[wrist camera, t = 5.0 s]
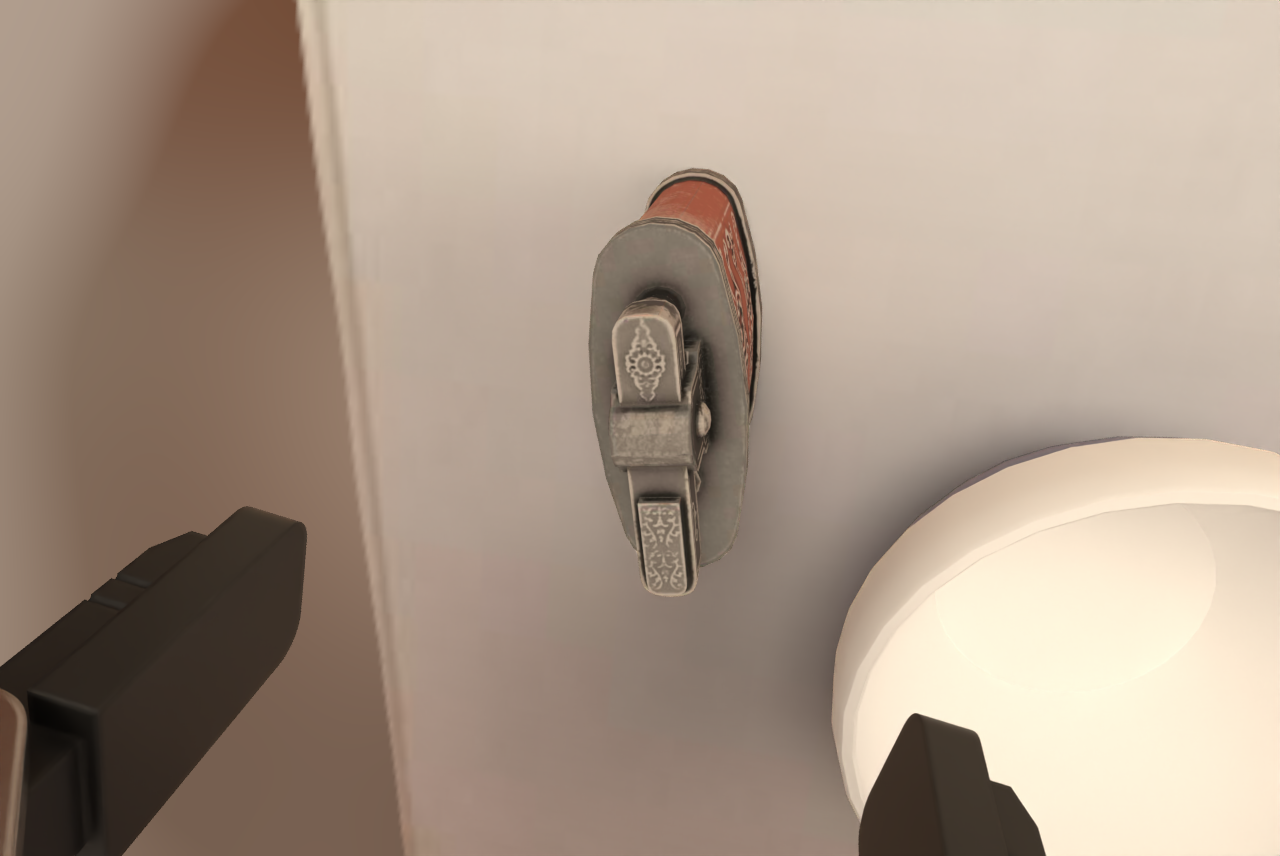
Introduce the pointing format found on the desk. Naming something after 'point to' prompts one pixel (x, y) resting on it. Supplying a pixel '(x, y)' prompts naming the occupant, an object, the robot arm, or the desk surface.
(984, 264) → the desk surface
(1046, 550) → the bowl
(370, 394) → the desk surface
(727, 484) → the lighter
